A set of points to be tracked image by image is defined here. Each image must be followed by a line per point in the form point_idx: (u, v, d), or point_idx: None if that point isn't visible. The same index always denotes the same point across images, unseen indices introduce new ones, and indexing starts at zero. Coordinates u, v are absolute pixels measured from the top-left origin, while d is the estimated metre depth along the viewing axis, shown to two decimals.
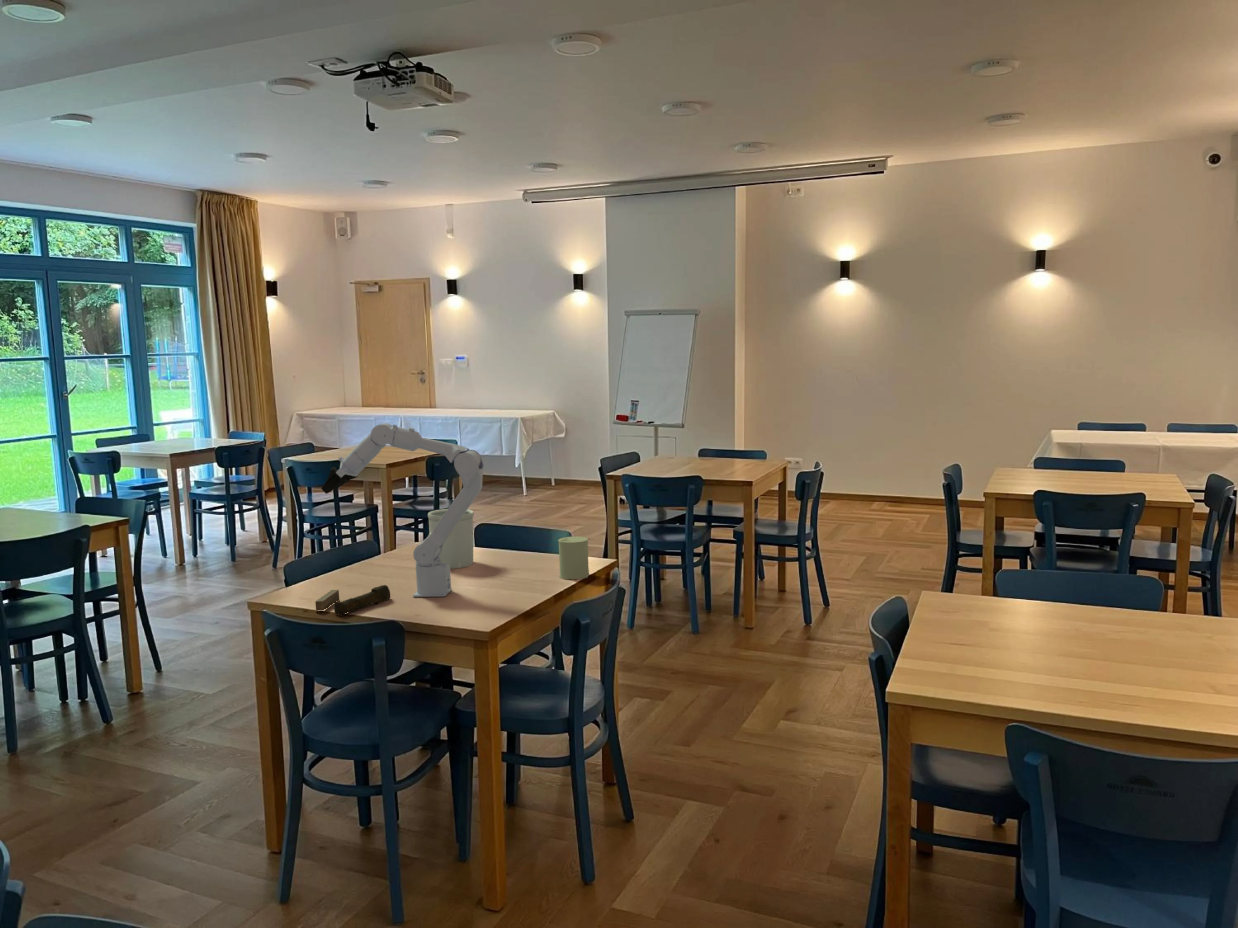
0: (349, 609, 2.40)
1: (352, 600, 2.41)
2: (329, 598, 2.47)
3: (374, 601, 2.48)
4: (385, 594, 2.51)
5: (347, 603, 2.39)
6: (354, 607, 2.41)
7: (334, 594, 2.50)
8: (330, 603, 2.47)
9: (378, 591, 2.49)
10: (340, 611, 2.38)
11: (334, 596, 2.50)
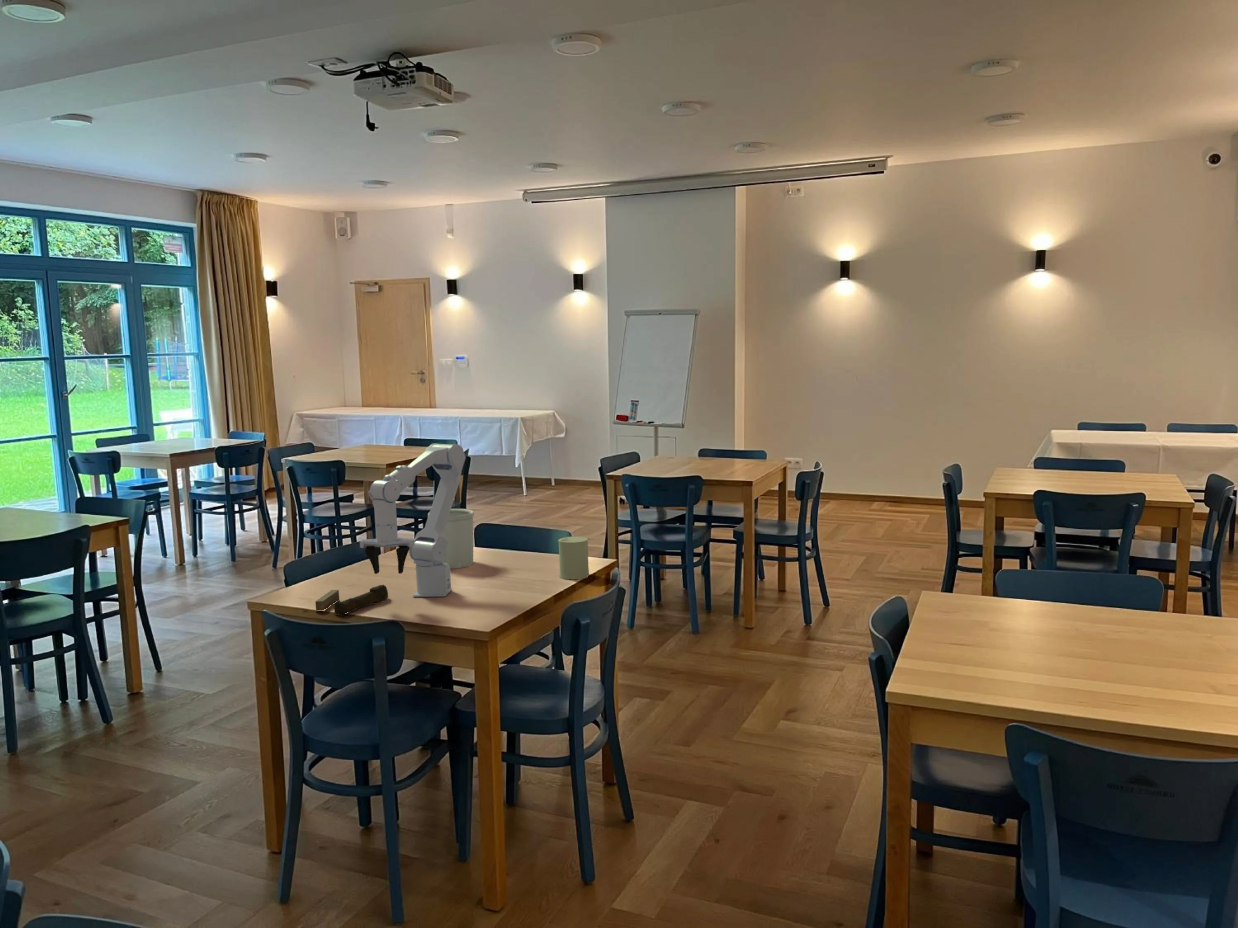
0: (349, 609, 2.40)
1: (352, 600, 2.41)
2: (329, 598, 2.47)
3: (373, 601, 2.48)
4: (383, 594, 2.52)
5: (347, 603, 2.39)
6: (354, 607, 2.41)
7: (334, 594, 2.50)
8: (330, 603, 2.47)
9: (377, 591, 2.49)
10: (341, 611, 2.38)
11: (334, 596, 2.50)
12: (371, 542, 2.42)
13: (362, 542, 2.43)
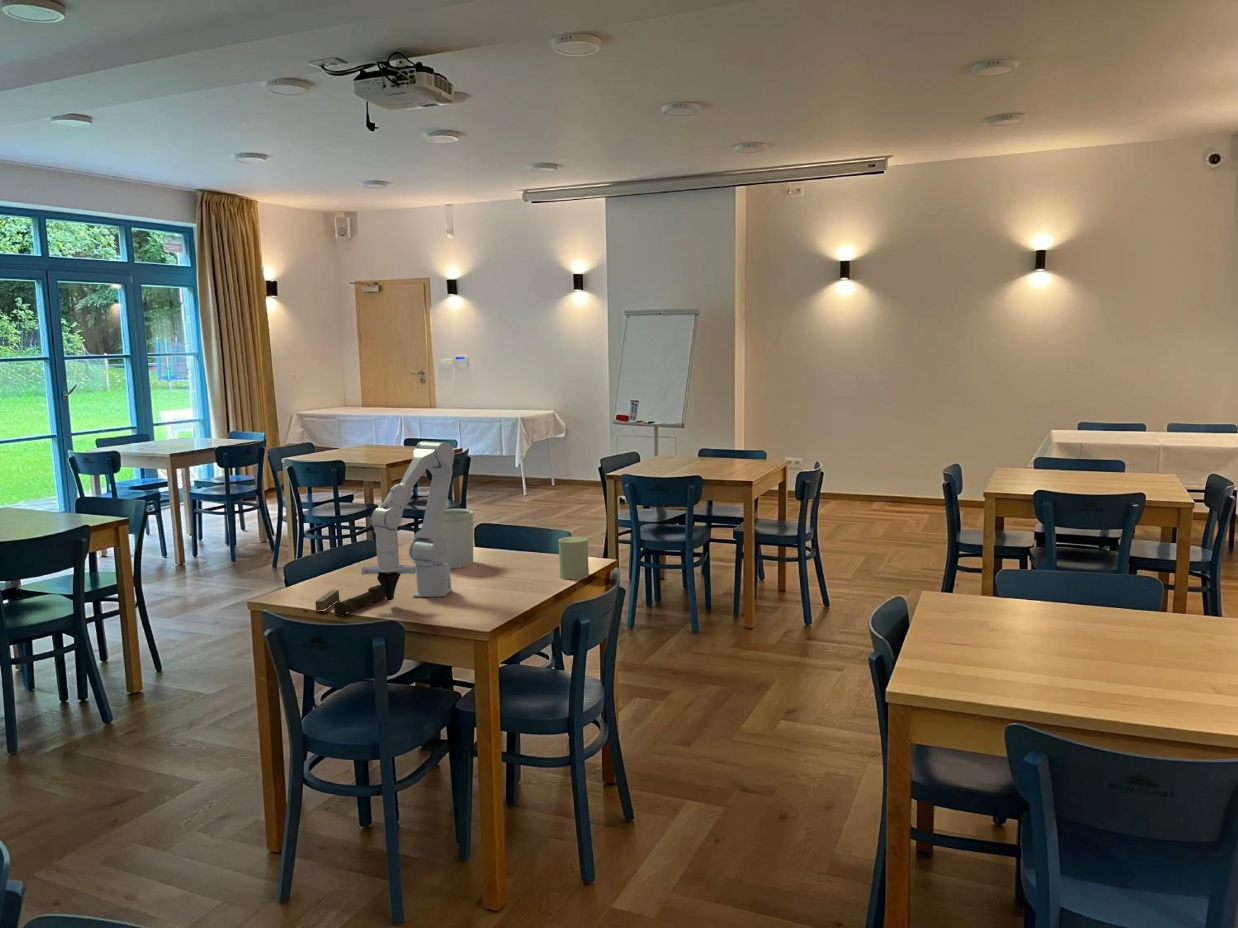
0: (349, 609, 2.40)
1: (352, 600, 2.41)
2: (329, 598, 2.47)
3: (372, 601, 2.48)
4: (382, 594, 2.52)
5: (347, 603, 2.39)
6: (354, 607, 2.41)
7: (334, 594, 2.50)
8: (330, 603, 2.47)
9: (375, 591, 2.50)
10: (341, 611, 2.38)
11: (334, 596, 2.50)
12: (373, 569, 2.43)
13: (363, 569, 2.44)
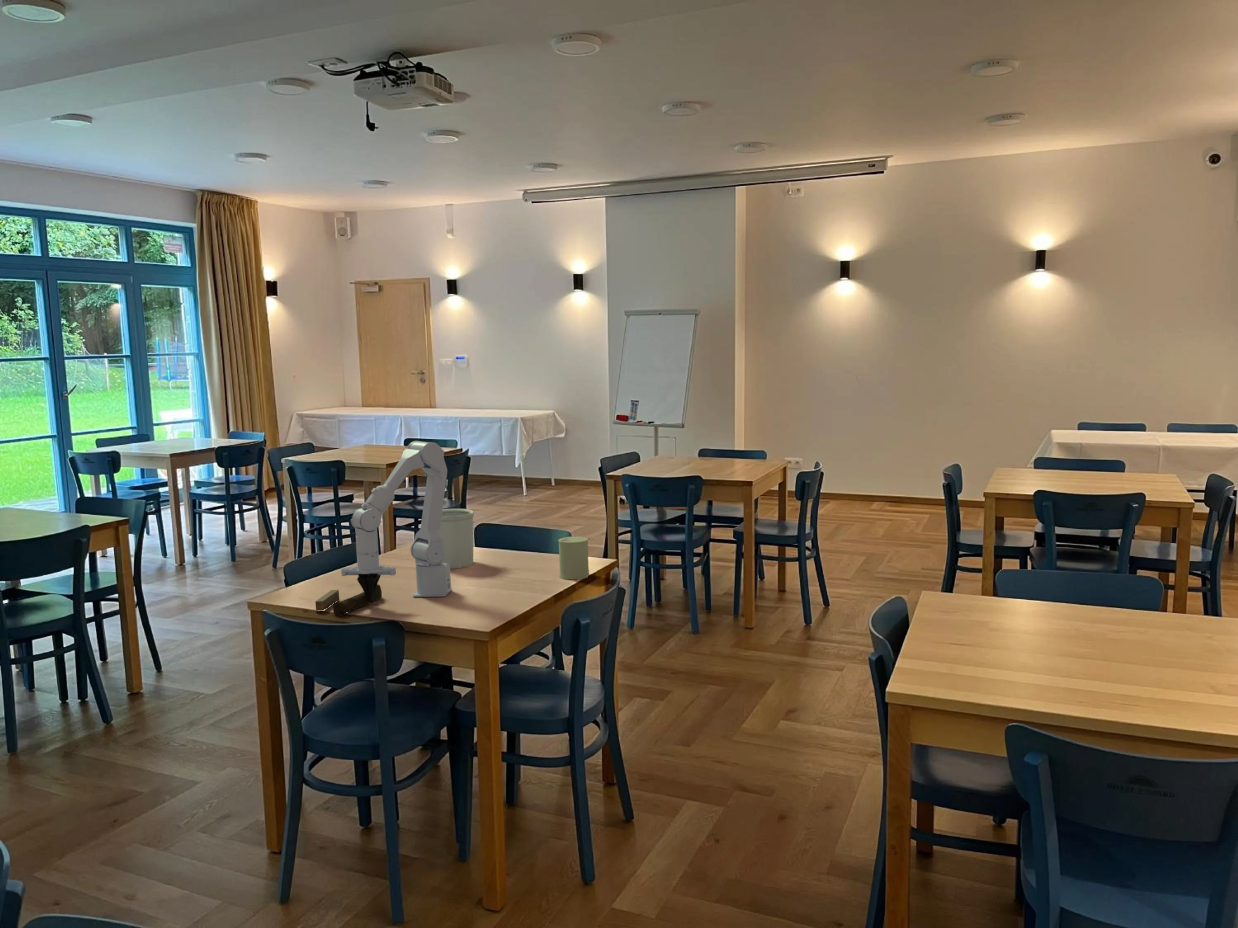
0: (348, 609, 2.40)
1: (350, 600, 2.41)
2: (329, 598, 2.47)
3: None
4: (378, 593, 2.53)
5: (346, 603, 2.39)
6: (353, 607, 2.41)
7: (334, 594, 2.50)
8: (330, 603, 2.47)
9: None
10: (341, 611, 2.38)
11: (334, 596, 2.50)
12: (352, 570, 2.44)
13: (343, 570, 2.45)
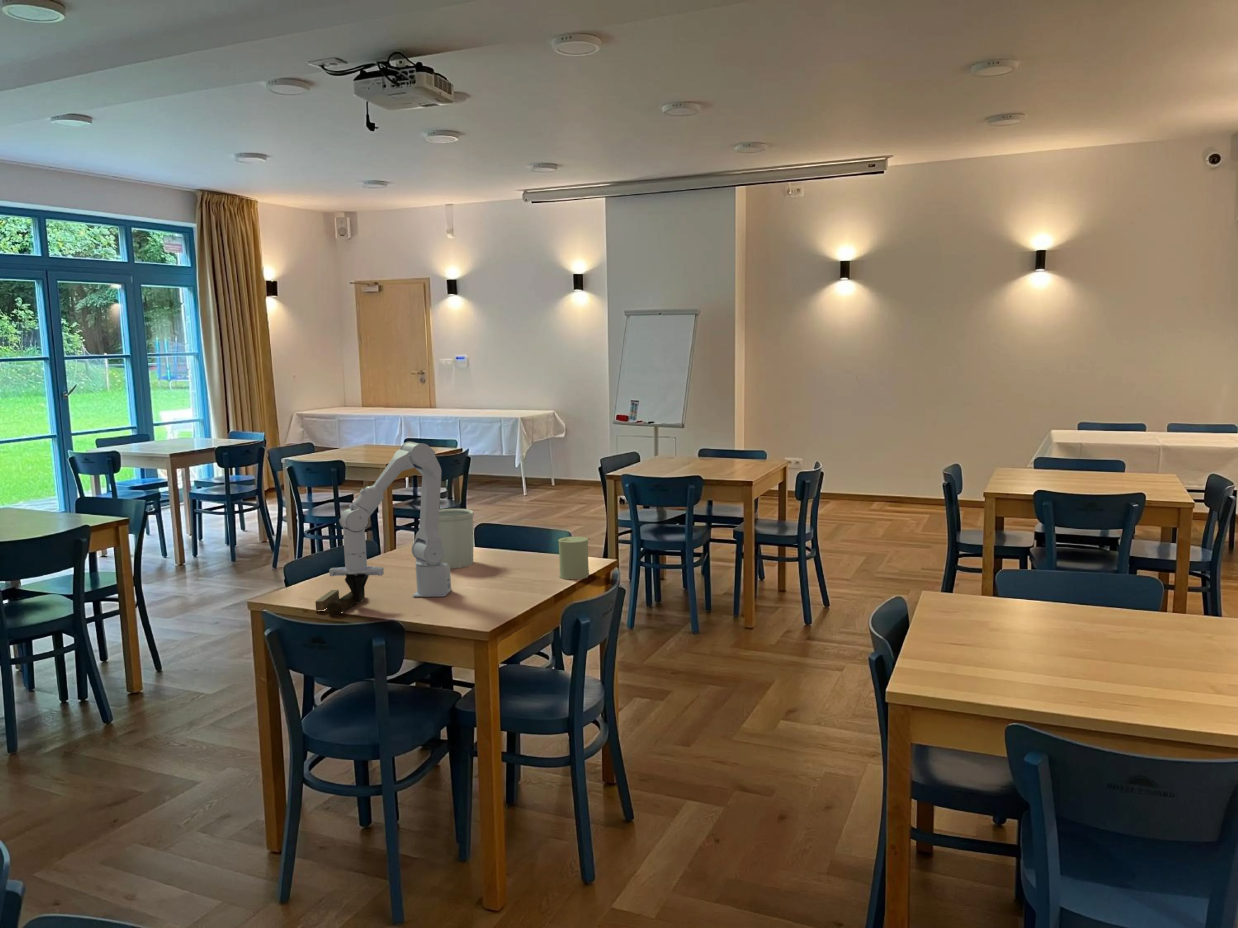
0: (343, 608, 2.40)
1: (343, 599, 2.42)
2: (329, 598, 2.47)
3: None
4: (363, 592, 2.54)
5: (341, 603, 2.40)
6: (346, 606, 2.42)
7: (334, 594, 2.50)
8: None
9: None
10: (337, 611, 2.38)
11: (334, 596, 2.50)
12: (340, 571, 2.44)
13: (331, 570, 2.45)
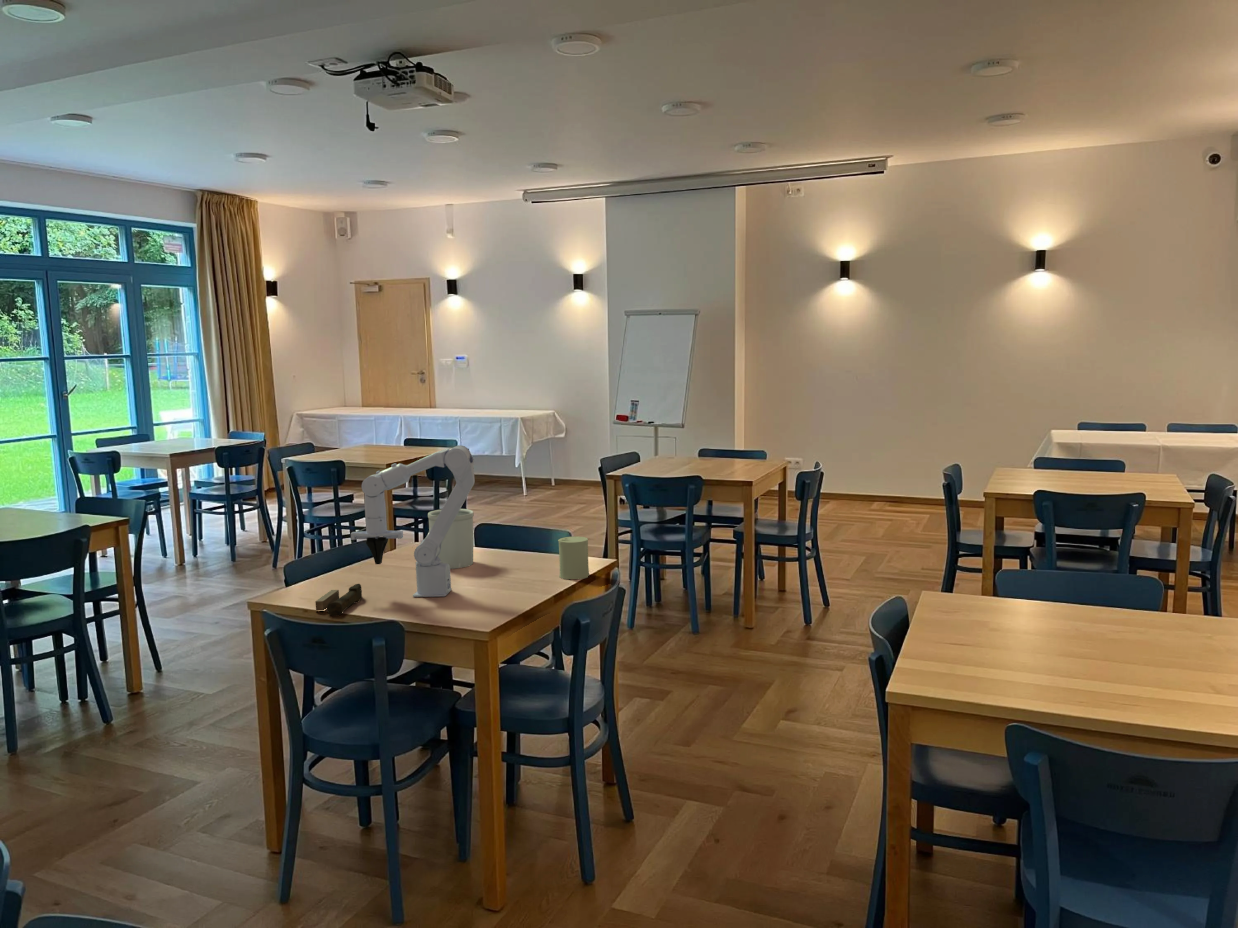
0: (343, 608, 2.40)
1: (343, 599, 2.42)
2: (329, 598, 2.47)
3: (355, 600, 2.50)
4: (361, 592, 2.54)
5: (341, 602, 2.40)
6: (346, 606, 2.42)
7: (334, 594, 2.50)
8: None
9: (357, 589, 2.51)
10: (337, 611, 2.38)
11: (334, 596, 2.50)
12: (361, 534, 2.54)
13: (352, 534, 2.55)
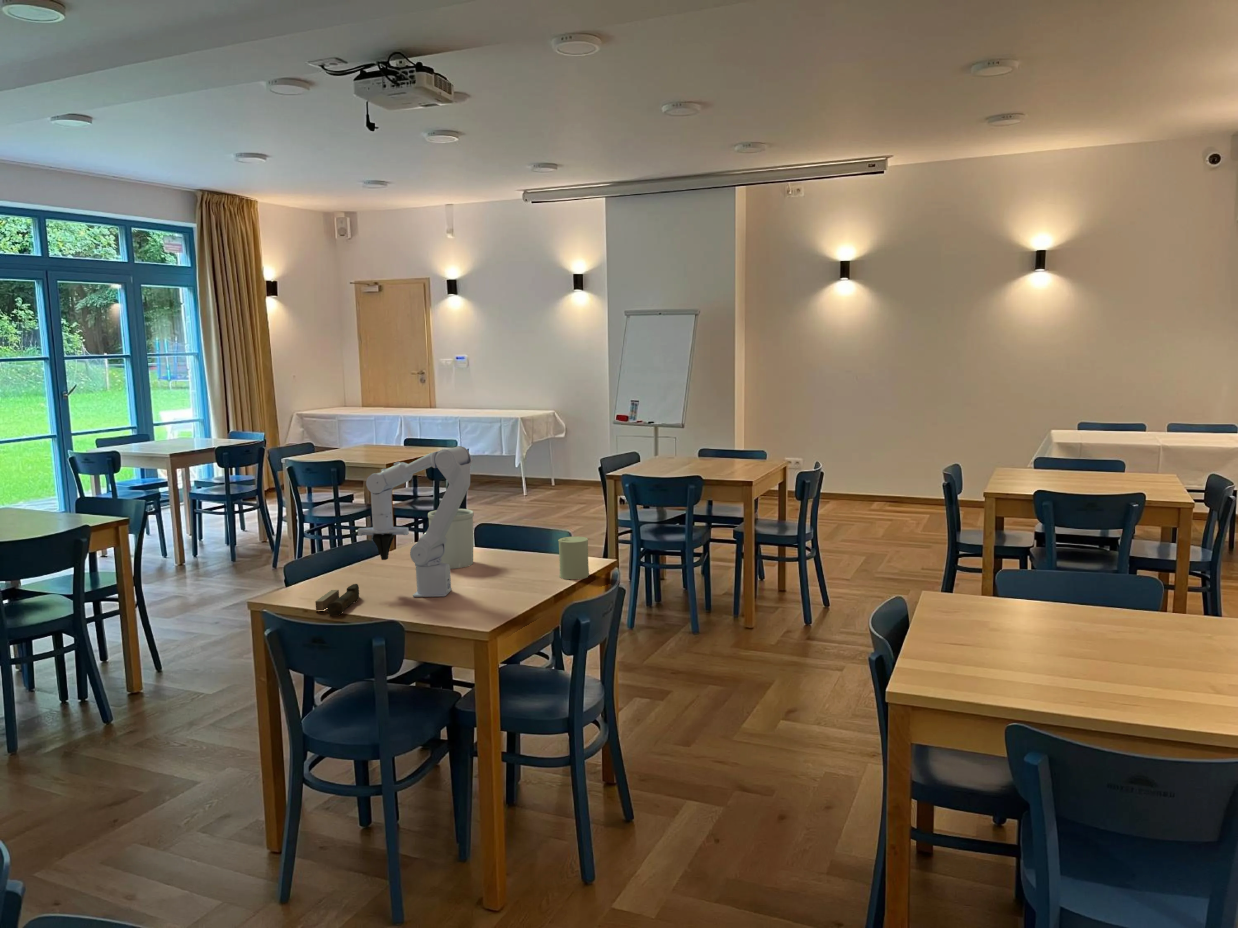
0: (343, 608, 2.41)
1: (343, 599, 2.42)
2: (329, 598, 2.47)
3: (354, 599, 2.50)
4: (358, 592, 2.54)
5: (341, 602, 2.40)
6: (345, 606, 2.42)
7: (334, 594, 2.50)
8: None
9: (355, 589, 2.51)
10: (337, 611, 2.38)
11: (334, 596, 2.50)
12: (368, 530, 2.60)
13: (359, 530, 2.61)
